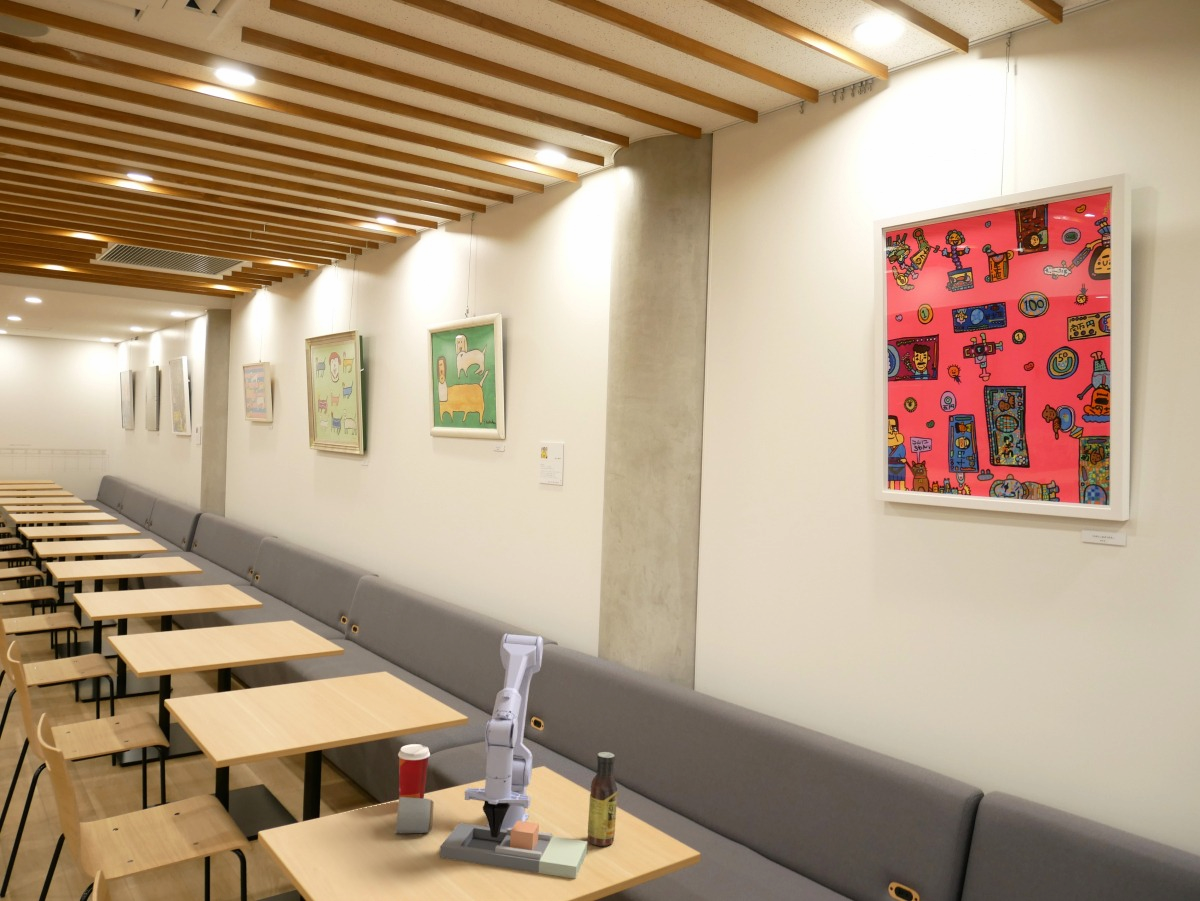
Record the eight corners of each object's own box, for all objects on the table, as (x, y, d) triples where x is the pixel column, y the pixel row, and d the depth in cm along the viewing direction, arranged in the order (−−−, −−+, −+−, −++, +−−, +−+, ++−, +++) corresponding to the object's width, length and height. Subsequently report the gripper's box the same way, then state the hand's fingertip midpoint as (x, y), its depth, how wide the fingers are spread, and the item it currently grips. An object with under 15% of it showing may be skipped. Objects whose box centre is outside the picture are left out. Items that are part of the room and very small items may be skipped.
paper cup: (413, 796, 218) (416, 741, 218) (433, 806, 213) (436, 749, 213) (388, 805, 212) (391, 748, 212) (407, 815, 207) (411, 757, 207)
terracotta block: (516, 838, 193) (517, 820, 193) (537, 841, 192) (539, 823, 192) (509, 848, 188) (510, 830, 188) (532, 851, 187) (533, 833, 187)
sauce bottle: (611, 849, 196) (616, 761, 196) (584, 845, 197) (589, 758, 197) (616, 836, 202) (621, 752, 202) (590, 832, 204) (595, 748, 204)
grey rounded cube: (432, 838, 196) (434, 804, 196) (395, 839, 195) (397, 804, 195) (431, 818, 207) (433, 786, 207) (396, 819, 205) (398, 786, 205)
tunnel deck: (458, 833, 199) (459, 818, 199) (586, 852, 194) (587, 836, 194) (439, 857, 187) (440, 841, 187) (575, 878, 182) (576, 861, 182)
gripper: (461, 776, 189) (457, 838, 189) (525, 785, 186) (522, 848, 186) (472, 764, 196) (468, 824, 196) (534, 773, 193) (530, 833, 193)
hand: (495, 835), depth 191 cm, fingers closed
